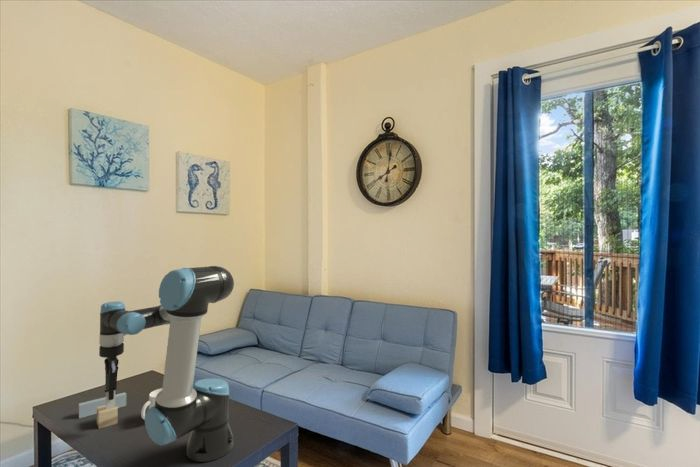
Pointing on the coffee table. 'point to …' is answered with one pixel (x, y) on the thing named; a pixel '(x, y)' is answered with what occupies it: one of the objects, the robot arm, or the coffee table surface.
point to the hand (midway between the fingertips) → (110, 407)
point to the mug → (150, 402)
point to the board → (91, 406)
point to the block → (107, 416)
